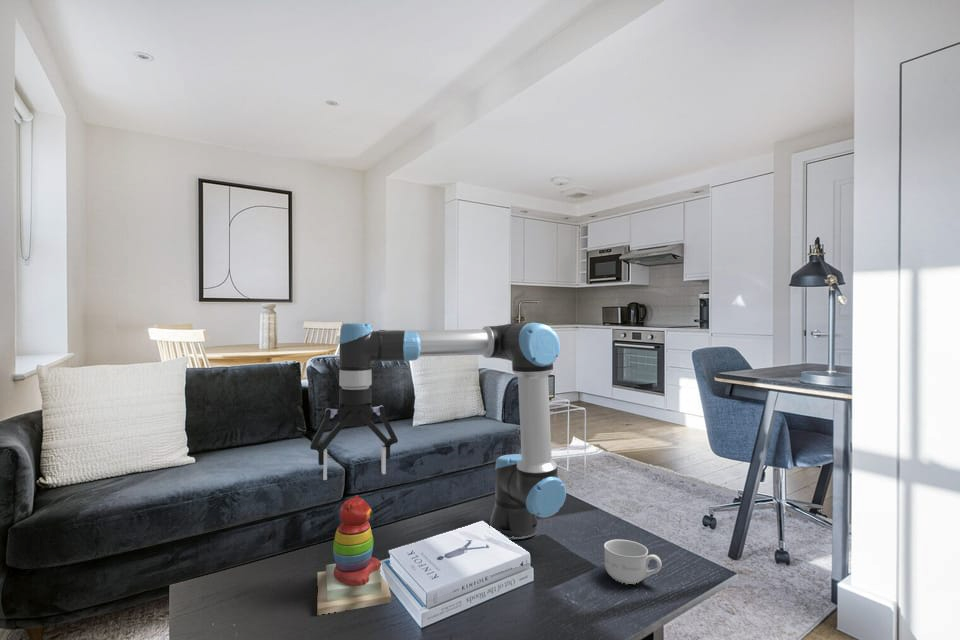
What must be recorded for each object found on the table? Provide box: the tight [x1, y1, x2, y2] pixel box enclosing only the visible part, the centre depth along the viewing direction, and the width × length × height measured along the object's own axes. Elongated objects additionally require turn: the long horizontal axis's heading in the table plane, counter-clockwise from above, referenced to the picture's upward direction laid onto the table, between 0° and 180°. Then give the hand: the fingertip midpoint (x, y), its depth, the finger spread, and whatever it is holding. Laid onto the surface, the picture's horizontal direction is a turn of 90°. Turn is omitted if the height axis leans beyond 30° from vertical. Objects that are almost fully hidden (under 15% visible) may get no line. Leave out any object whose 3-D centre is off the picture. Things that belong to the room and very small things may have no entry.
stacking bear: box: [332, 494, 382, 586], centre depth 114 cm, size 11×10×18 cm
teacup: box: [603, 538, 663, 585], centre depth 119 cm, size 14×11×8 cm
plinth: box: [316, 563, 392, 617], centre depth 114 cm, size 16×16×4 cm
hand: (354, 475), depth 114 cm, fingers open, 13 cm apart
